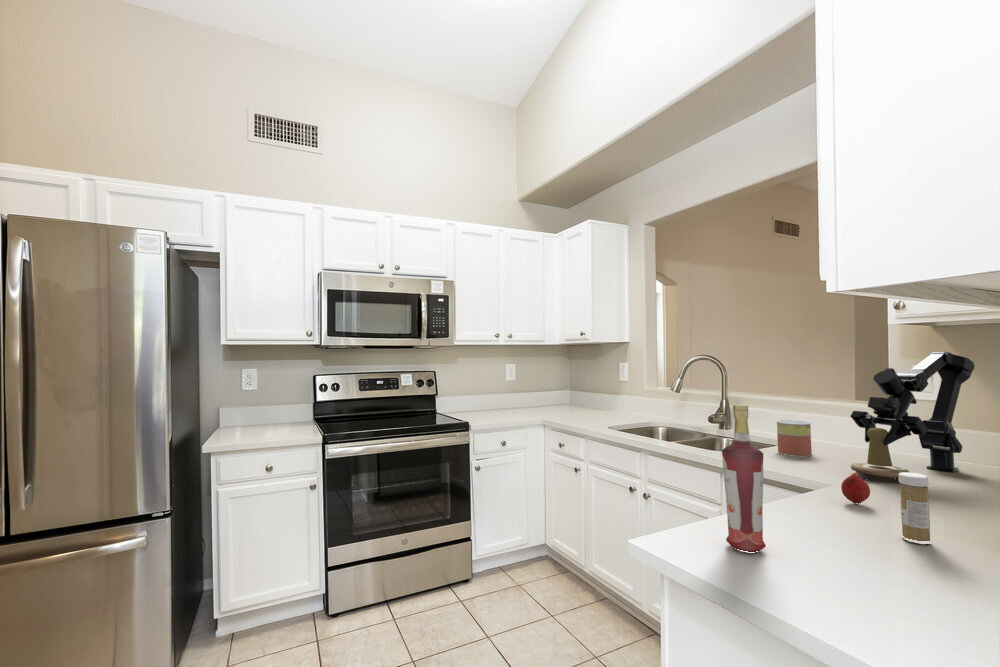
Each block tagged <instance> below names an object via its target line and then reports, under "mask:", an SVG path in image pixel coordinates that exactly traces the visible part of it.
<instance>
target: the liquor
mask: <svg viewBox="0 0 1000 667" xmlns="http://www.w3.org/2000/svg"><path fill="white" fill-rule="evenodd" d="M732 410H733V412H732V413H733V418H734V433H733V443H731V444H729V445H726V446H725V447H724V448H723V449H722V450H721V457H722V458H721V459H722V466H723V467H722V468H723V469H722V470H723V471H722V472H723V480H724V481H723V482H724V490H725V500H726V501H725V502H726V516H727V531H728V532H727V533H728V536H727V537H726V538H725V540H726V542H727V543H728V544H729V545H730V546H731V547H732V548H733V547H734V548H736V549H739V550H743V551H748V552H756V551H759V552H761V551H762V550H764V549H765V548H766V543H765V541H764V537H763V536H764V535H763V529H764V526H763V525H764V524H763V521H764V520H763V518H764V517H763V508H764V506H763V503H764V501H763V498H764V497H763V496H764V453H763V451H761V449H759V448H757V447H756V446H754V445H751V437H750V432H749V424H748V423H749V422H748V418H749V405H747V404H733V405H732ZM734 548H733V549H734ZM760 550H761V551H760Z"/></svg>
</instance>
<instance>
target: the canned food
mask: <svg viewBox="0 0 1000 667" xmlns="http://www.w3.org/2000/svg"><path fill="white" fill-rule="evenodd" d="M811 428H812V427H811V422H808V421H801V420H777V421H776V434H777V435H776V436H777V437H776V438H777V453H778V452H779V453H778V454H780V453H782V454H781V455H783V454H786V455H785V456H789V455H793V456H792V457H799V456H807V457H811V456H810V455H812V456H813V453H812V452H813V451H812V430H811Z"/></svg>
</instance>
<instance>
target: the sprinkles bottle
mask: <svg viewBox="0 0 1000 667" xmlns="http://www.w3.org/2000/svg"><path fill="white" fill-rule="evenodd" d="M899 482H900V483H899ZM899 482H898V483H899V487H900V516H901V518H900V519H901V529H902V530H901V531H902V535H903V536H904V537H905V538H908V539H912V540H917V541H930V540H931V530H930V529H931V517H930V516H931V515H930V501H929V484H930V483H929V477H928V475H926V474H922V473H917V472H910V471H909V472H902V473H899Z"/></svg>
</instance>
